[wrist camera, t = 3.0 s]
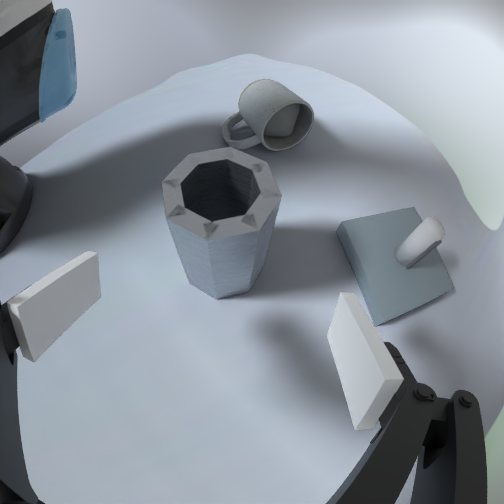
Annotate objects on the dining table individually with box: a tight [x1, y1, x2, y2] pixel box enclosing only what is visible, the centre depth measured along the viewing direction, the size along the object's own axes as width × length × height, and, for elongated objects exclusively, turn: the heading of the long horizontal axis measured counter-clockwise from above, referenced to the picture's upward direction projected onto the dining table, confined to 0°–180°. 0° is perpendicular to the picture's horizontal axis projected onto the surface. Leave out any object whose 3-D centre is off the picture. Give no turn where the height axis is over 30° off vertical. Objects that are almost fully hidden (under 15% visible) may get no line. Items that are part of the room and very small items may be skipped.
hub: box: [162, 147, 282, 299], centre depth 22 cm, size 7×7×11 cm
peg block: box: [336, 207, 454, 326], centre depth 25 cm, size 11×11×8 cm
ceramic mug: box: [222, 79, 314, 151], centre depth 32 cm, size 11×8×8 cm
